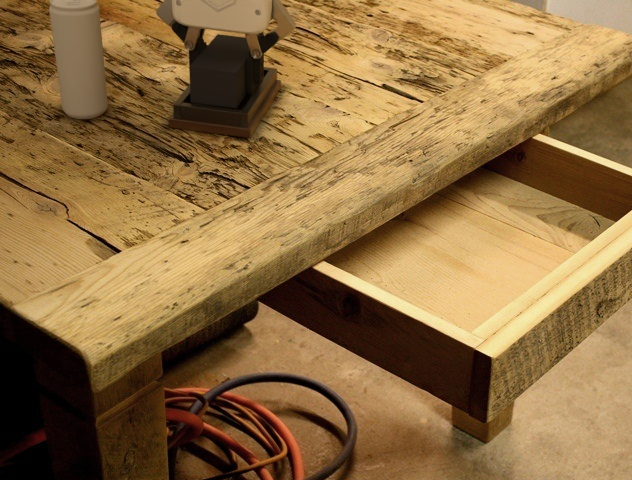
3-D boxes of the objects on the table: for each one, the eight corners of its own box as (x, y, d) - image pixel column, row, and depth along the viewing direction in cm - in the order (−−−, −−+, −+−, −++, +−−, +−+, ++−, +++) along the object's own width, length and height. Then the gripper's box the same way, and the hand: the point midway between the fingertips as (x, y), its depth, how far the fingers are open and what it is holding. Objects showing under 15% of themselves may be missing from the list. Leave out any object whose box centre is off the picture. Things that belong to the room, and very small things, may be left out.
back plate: (250, 138, 96) (250, 116, 95) (168, 127, 97) (167, 105, 96) (281, 88, 107) (281, 67, 106) (207, 78, 108) (207, 58, 107)
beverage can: (112, 103, 101) (102, -7, 94) (103, 122, 97) (93, 9, 90) (67, 101, 101) (54, -9, 94) (57, 120, 97) (42, 7, 90)
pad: (236, 108, 96) (236, 72, 94) (190, 102, 97) (188, 66, 95) (260, 73, 105) (261, 39, 102) (218, 68, 105) (217, 33, 103)
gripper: (126, -90, 88) (139, 89, 98) (301, -71, 86) (296, 109, 97) (153, -106, 95) (163, 63, 105) (317, -89, 93) (310, 82, 103)
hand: (226, 83), depth 100 cm, fingers closed on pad, 5 cm apart
